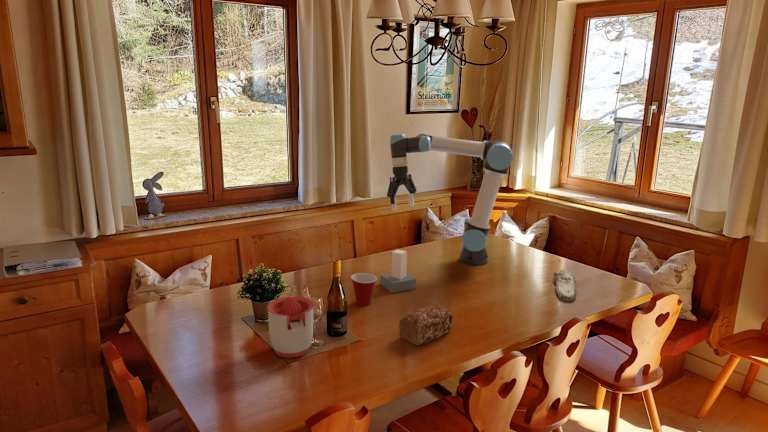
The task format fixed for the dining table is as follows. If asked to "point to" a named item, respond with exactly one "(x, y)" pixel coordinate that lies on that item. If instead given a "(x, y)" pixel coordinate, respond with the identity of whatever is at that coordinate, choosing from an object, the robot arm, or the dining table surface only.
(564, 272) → the stone
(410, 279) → the blue-grey flat block
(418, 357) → the dining table surface
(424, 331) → the bread
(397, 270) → the cream pillar block
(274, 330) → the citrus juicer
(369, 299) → the plastic cup
